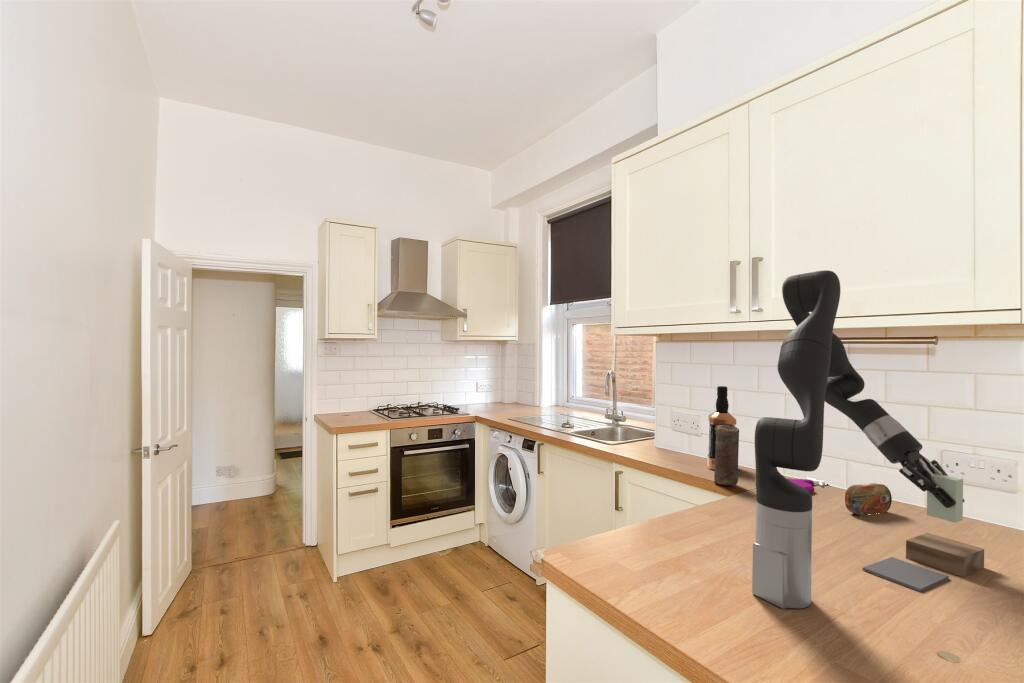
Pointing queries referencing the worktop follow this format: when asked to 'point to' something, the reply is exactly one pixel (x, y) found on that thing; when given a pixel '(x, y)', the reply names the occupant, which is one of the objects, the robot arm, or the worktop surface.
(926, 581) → the mat
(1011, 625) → the worktop surface
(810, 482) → the spray bottle
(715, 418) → the whiskey bottle
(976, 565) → the brown rectangular box
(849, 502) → the tin
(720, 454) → the candle
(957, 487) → the pale green rectangular block
